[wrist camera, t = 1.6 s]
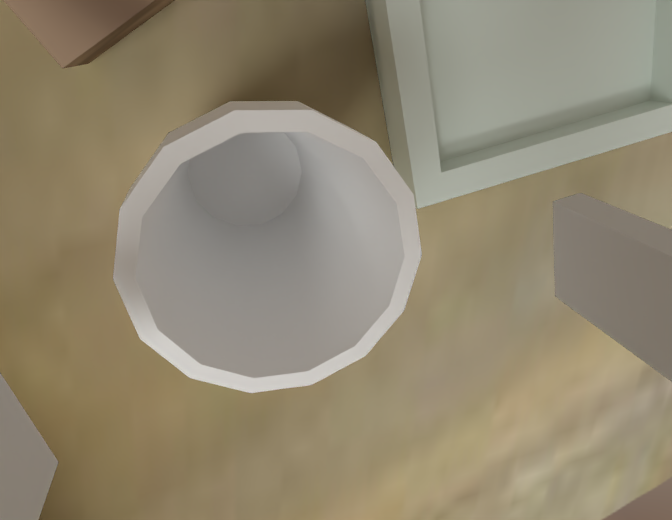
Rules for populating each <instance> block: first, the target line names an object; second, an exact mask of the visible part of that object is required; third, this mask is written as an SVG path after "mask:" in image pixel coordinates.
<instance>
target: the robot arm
mask: <svg viewBox="0 0 672 520" xmlns="http://www.w3.org/2000/svg"><path fill="white" fill-rule="evenodd" d="M553 234H554V276H555V297H557V298H558V299H559V300H561V301H562V302H563V303H565V304H566V305H568V306H569V307H570V308H572V309H573V310H574V311H576V312H577V313H578V314H580V315H581V316H583V317H584V318H585V319H587V320H588V321H589V322H591V323H592V324H593V325H595V326H596V327H598V328H599V329H600V330H602V331H603V332H604V333H606V334H607V335H609V336H610V337H611V338H613V339H614V340H615V341H617V342H618V343H619V344H621V345H622V346H624V347H625V348H626V349H628V350H629V351H630V352H632V353H633V354H634V355H636V356H637V357H639V358H640V359H641V360H643V361H644V362H645V363H647V364H648V365H650V366H651V367H652V368H654V369H655V370H656V371H658V372H659V373H660V374H662V375H663V376H665V377H666V378H667V379H669V380H670V381H671V382H672V230H671V229H669V228H666V227H664V226H661V225H659V224H656V223H654V222H651V221H649V220H646V219H644V218H641V217H639V216H637V215H634V214H632V213H629V212H627V211H624V210H622V209H619V208H617V207H614V206H612V205H609V204H607V203H605V202H602V201H600V200H597V199H595V198H592V197H590V196H587V195H585V194H582V193H578V194H575V195H572V196H569V197H565V198H562V199H559V200H556V201H553ZM57 465H58V460H57V459H56V457H55V456H54V454H53V453H52V451H51V450H50V448H49V447H48V445H47V444H46V442H45V441H44V439H43V438H42V436H41V434H40V433H39V431H38V430H37V428H36V427H35V425H34V424H33V422H32V421H31V419H30V418H29V416H28V415H27V413H26V411H25V410H24V408H23V407H22V405H21V404H20V402H19V401H18V399H17V398H16V396H15V395H14V393H13V392H12V390H11V389H10V387H9V385H8V384H7V382H6V381H5V379H4V378H3V376H2V375H1V373H0V520H39V517H40V514H41V511H42V508H43V505H44V502H45V500H46V497H47V494H48V491H49V488H50V485H51V482H52V479H53V477H54V474H55V471H56V468H57Z"/></svg>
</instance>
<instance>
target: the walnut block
mask: <svg viewBox="0 0 672 520" xmlns="http://www.w3.org/2000/svg"><path fill="white" fill-rule="evenodd" d="M173 1H174V0H4V2H5V3H6V4H7V5H8V6H9V7H10V9H11V10H12V11H13V12H14V13H15V14H16V15H17V17H18V18H19V19H20V20H21V21H22V22H23V24H24V25H25V26H26V27H27V28H28V29H29V30H30V32H31V33H32V34H33V35H34V36H35V37H36V39H37V40H38V41H39V42H40V43H41V44H42V45H43V47H44V48H45V49H46V50H47V51H48V52H49V54H50V55H51V56H52V57H53V58H54V59H55V60H56V62H57V63H58V64H59V65H60V66H61V67H62V68H68V67H73V66H78V65H83V64H88V63H90V62H91V61H93V60H94V59H95V58H97V57H98V56H99V55H101V54H102V53H103V52H105V51H106V50H108V49H109V48H110V47H112V46H113V45H114V44H116V43H117V42H118V41H120V40H121V39H123V38H124V37H125V36H127V35H128V34H129V33H131V32H132V31H133V30H135V29H136V28H137V27H139V26H140V25H142V24H143V23H144V22H146V21H147V20H148V19H150V18H151V17H152V16H154V15H155V14H157V13H158V12H159V11H161V10H162V9H163V8H165V7H166V6H167V5H169V4H170V3H171V2H173Z"/></svg>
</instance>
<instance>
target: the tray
mask: <svg viewBox="0 0 672 520" xmlns="http://www.w3.org/2000/svg"><path fill="white" fill-rule="evenodd" d="M365 2H366V8H367V13H368V19H369V25H370V31H371V37H372V43H373V49H374V55H375V60H376V66H377V72H378V78H379V84H380V90H381V96H382V102H383V107H384V113H385V119H386V125H387V131H388V137H389V143H390V149H391V155H392V160H393V166H394V168H395V169H396V171H397V172H398V173H399V175H400V176H401V178H402V179H403V180H404V182H405V183H406V185H407V186H408V187H409V189H410V190H411V192H412V193H413V194H414V201H415V207H416V208H417V209H419V208H422V207H426V206H429V205H432V204H435V203H439V202H442V201H445V200H449V199H452V198H455V197H459V196H462V195H465V194H468V193H472V192H475V191H478V190H482V189H485V188H488V187H491V186H495V185H498V184H501V183H505V182H508V181H511V180H515V179H518V178H521V177H524V176H528V175H531V174H534V173H538V172H541V171H544V170H548V169H551V168H554V167H557V166H561V165H564V164H567V163H571V162H574V161H577V160H581V159H584V158H587V157H590V156H594V155H597V154H600V153H604V152H607V151H610V150H613V149H617V148H620V147H623V146H627V145H630V144H633V143H637V142H640V141H643V140H646V139H650V138H653V137H656V136H660V135H663V134H666V133H670V132H672V0H365Z"/></svg>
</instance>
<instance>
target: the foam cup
mask: <svg viewBox="0 0 672 520" xmlns="http://www.w3.org/2000/svg"><path fill="white" fill-rule="evenodd" d="M421 256H422V252H421V244H420V237H419V230H418V223H417V215H416V208H415V201H414V194H413V193H412V192H411V190H410V189H409V187H408V186H407V185H406V183H405V182H404V180H403V179H402V178H401V176H400V175H399V173H398V172H397V171H396V169H395V168H394V166H393V165H392V163H391V162H390V161H389V159H388V158H387V156H386V155H385V154H384V152H383V151H382V149H381V148H380V147H379V145H378V144H377V142H376V141H374V140H372V139H370V138H368V137H367V136H365V135H363V134H361V133H360V132H358V131H356V130H354V129H352V128H350V127H348V126H346V125H344V124H342V123H340V122H338V121H336V120H334V119H332V118H330V117H328V116H326V115H324V114H322V113H320V112H318V111H316V110H315V109H313V108H311V107H309V106H307V105H305V104H303V103H301V102H299V101H230V102H228V103H226V104H224V105H222V106H220V107H218V108H216V109H214V110H212V111H210V112H208V113H206V114H204V115H202V116H200V117H198V118H196V119H194V120H192V121H191V122H189V123H187V124H185V125H183V126H181V127H179V128H177V129H175V130H173V131H171V132H169V133H168V134H167V136H166V137H165V139H164V140H163V141H162V143H161V144H160V146H159V147H158V149H157V150H156V151H155V153H154V154H153V156H152V157H151V159H150V160H149V161H148V163H147V164H146V166H145V167H144V169H143V170H142V172H141V173H140V174H139V176H138V177H137V179H136V180H135V182H134V183H133V184H132V186H131V187H130V189H129V191H128V193H127V195H126V197H125V199H124V202H123V204H122V206H121V208H120V212H119V222H118V232H117V243H116V253H115V263H114V274H113V280H114V282H115V285H116V287H117V289H118V291H119V294H120V296H121V298H122V300H123V302H124V305H125V307H126V309H127V311H128V313H129V316H130V318H131V320H132V322H133V325H134V327H135V329H136V331H137V333H138V336H139V338H140V339H141V340H142V341H143V342H145V343H146V344H147V345H148V346H150V347H151V348H152V349H154V350H155V351H156V352H157V353H159V354H160V355H161V356H162V357H164V358H165V359H166V360H168V361H169V362H170V363H171V364H173V365H174V366H175V367H176V368H178V369H179V370H180V371H182V372H183V373H184V374H185V375H187V376H188V377H189V378H192V379H196V380H200V381H204V382H208V383H212V384H216V385H220V386H224V387H228V388H232V389H236V390H240V391H244V392H248V393H255V392H263V391H270V390H277V389H285V388H292V387H300V386H307V385H312V384H314V383H316V382H318V381H320V380H322V379H324V378H325V377H327V376H329V375H331V374H333V373H335V372H337V371H338V370H340V369H342V368H344V367H346V366H348V365H350V364H351V363H353V362H355V361H357V360H359V359H361V358H363V357H364V356H366V355H367V353H368V352H369V351H370V350H371V349H372V348H373V346H374V345H375V344H376V343H377V342H378V341H379V339H380V338H381V337H382V336H383V335H384V334H385V332H386V331H387V330H388V329H389V328H390V327H391V325H392V324H393V323H394V322H395V321H396V320H397V318H398V317H399V316H400V315H401V314H402V313H403V311H404V309H405V306H406V303H407V300H408V297H409V293H410V290H411V287H412V284H413V281H414V278H415V275H416V272H417V268H418V265H419V262H420V259H421Z"/></svg>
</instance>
